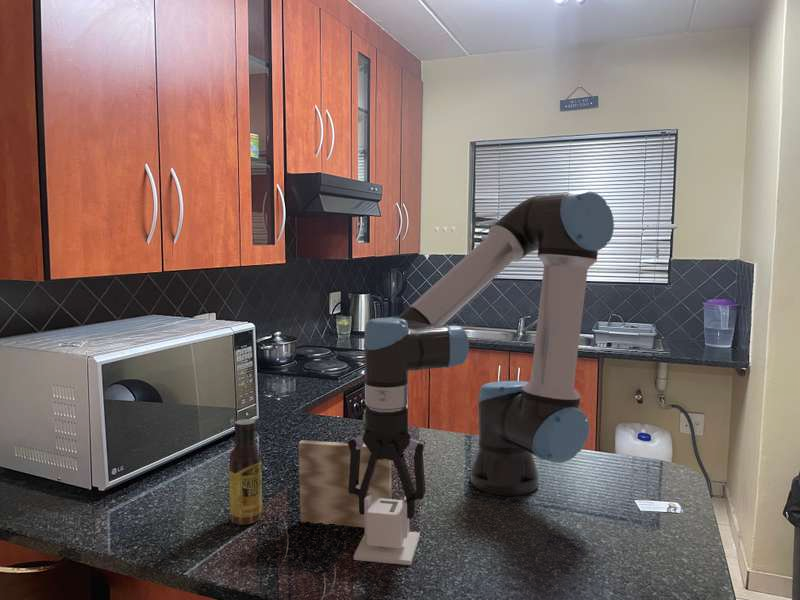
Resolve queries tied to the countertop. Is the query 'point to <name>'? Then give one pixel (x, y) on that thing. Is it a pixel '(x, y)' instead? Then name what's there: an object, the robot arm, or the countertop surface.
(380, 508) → the letter cube
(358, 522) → the screen
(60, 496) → the countertop surface
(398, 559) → the tile
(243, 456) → the sauce bottle
